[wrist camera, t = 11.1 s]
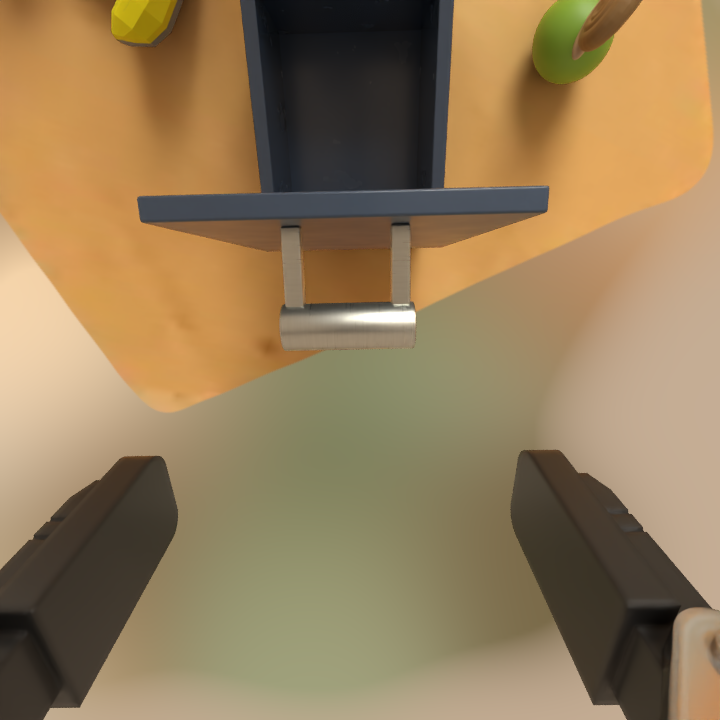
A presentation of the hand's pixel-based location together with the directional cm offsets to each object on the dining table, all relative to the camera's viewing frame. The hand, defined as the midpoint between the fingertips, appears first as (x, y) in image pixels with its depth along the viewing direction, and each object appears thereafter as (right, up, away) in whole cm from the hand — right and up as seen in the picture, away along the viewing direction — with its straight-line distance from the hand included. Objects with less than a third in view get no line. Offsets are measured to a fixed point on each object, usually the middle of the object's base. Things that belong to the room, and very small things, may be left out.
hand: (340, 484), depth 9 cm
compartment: (0, +22, +25) cm, 33 cm away
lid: (0, +10, +11) cm, 15 cm away
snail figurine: (+16, +28, +23) cm, 40 cm away
